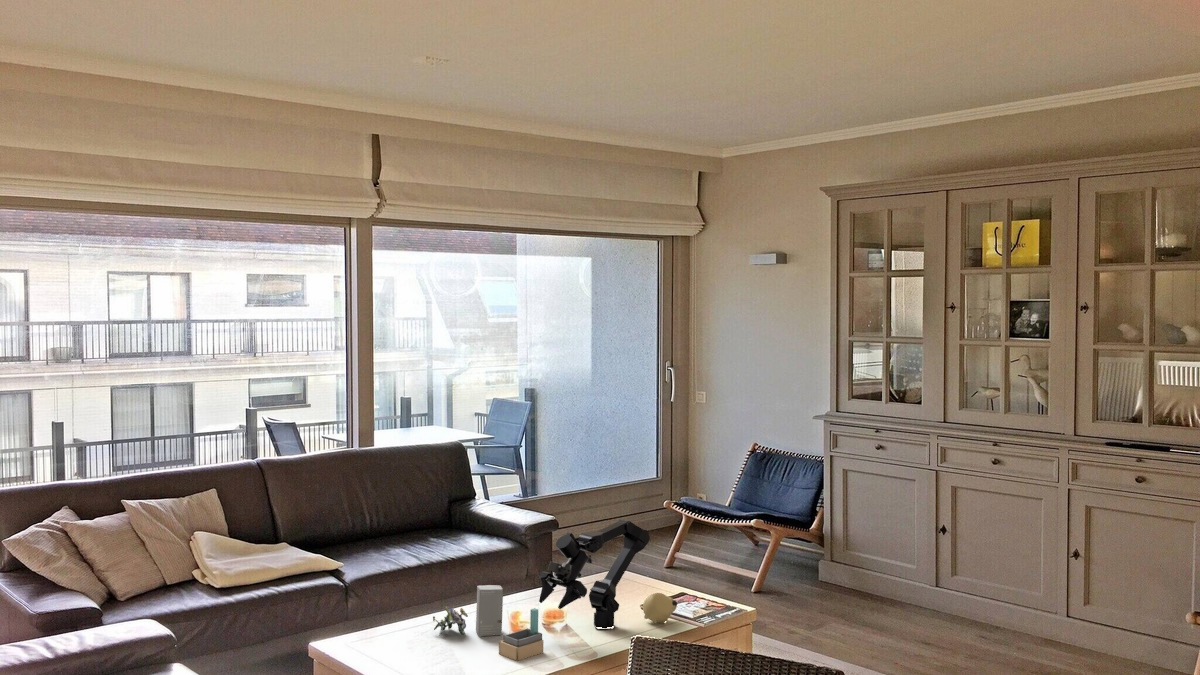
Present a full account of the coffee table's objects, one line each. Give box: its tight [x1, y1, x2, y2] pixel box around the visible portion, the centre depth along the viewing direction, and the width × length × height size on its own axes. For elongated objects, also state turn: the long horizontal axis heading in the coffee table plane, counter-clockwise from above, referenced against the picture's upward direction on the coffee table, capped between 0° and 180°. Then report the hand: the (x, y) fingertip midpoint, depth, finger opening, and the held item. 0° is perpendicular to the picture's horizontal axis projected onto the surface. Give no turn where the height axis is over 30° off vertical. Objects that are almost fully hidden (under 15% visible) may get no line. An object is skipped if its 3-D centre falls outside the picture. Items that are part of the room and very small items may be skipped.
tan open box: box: [498, 639, 545, 662], centre depth 311 cm, size 11×9×4 cm
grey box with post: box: [502, 608, 543, 647], centre depth 312 cm, size 11×7×13 cm, turn 136°
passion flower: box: [432, 606, 468, 636], centre depth 329 cm, size 11×11×12 cm
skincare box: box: [475, 584, 504, 638], centre depth 331 cm, size 8×7×16 cm
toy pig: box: [642, 592, 678, 624], centre depth 345 cm, size 10×12×11 cm
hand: (549, 605), depth 319 cm, fingers open, 9 cm apart
